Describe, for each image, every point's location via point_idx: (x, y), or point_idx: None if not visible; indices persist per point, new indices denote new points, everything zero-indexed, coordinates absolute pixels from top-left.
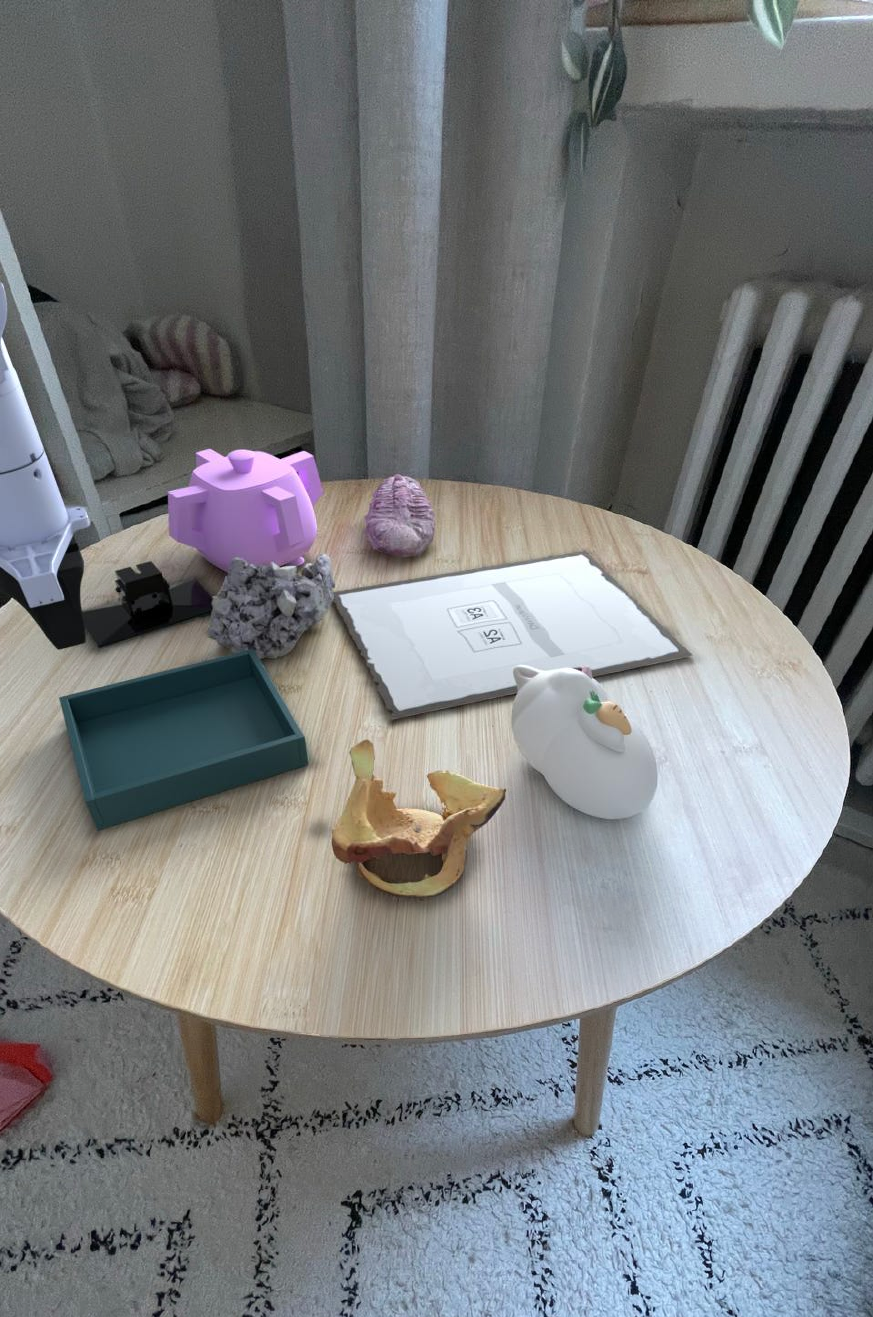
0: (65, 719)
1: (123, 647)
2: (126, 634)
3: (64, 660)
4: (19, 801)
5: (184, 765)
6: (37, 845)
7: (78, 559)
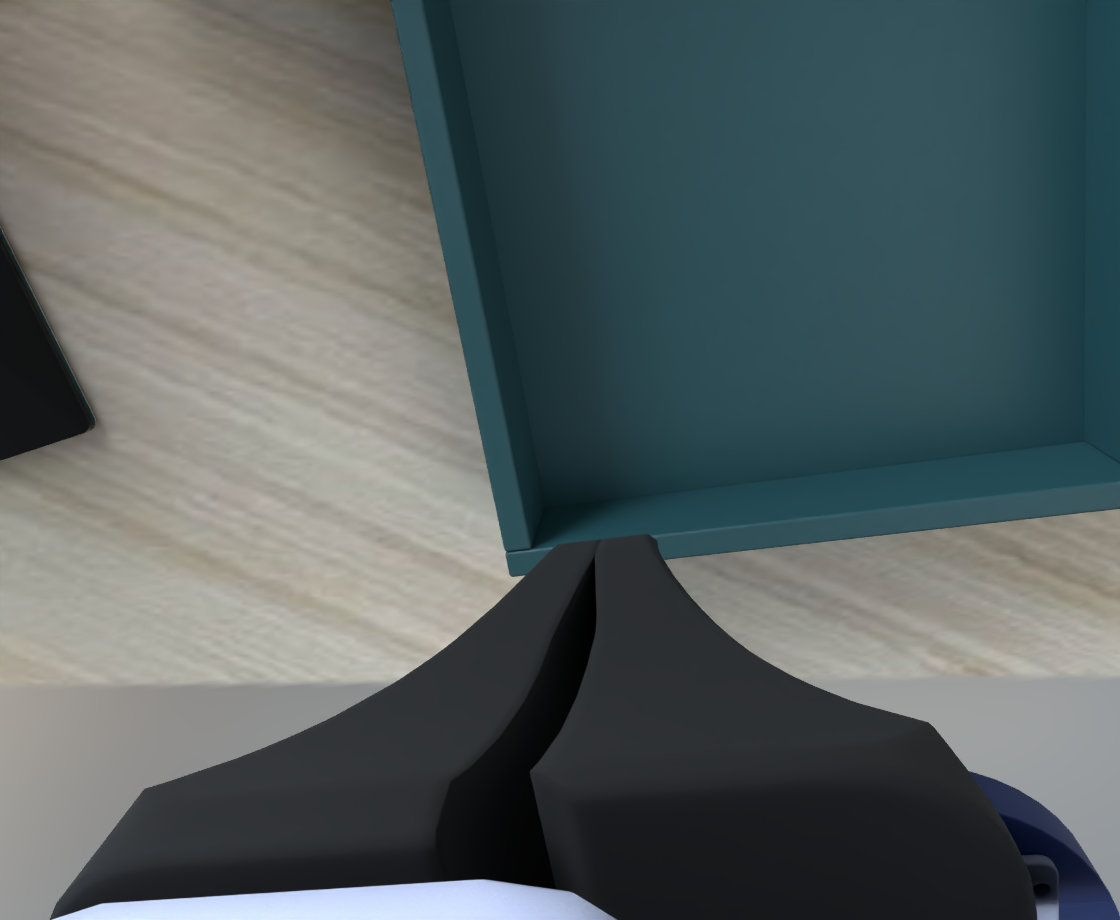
0: None
1: (95, 340)
2: (24, 326)
3: (155, 537)
4: (855, 661)
5: (923, 145)
6: (1077, 616)
7: (816, 818)
